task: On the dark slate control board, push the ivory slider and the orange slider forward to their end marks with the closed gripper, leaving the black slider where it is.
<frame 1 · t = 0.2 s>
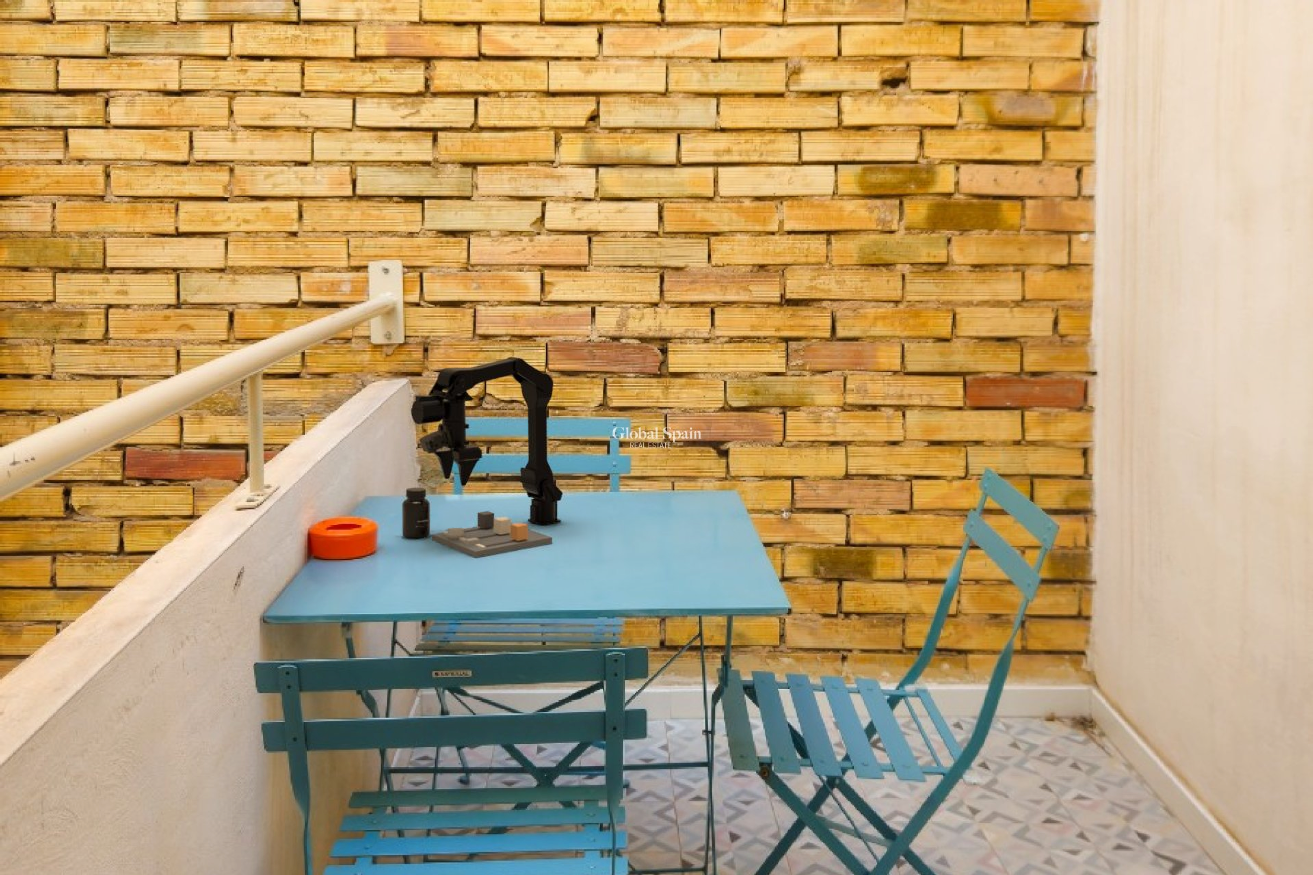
hand: (455, 482, 304), 14 cm above the table, tool pointing down, fingers open, 9 cm apart
black slider: (485, 519, 311), point 4 cm above the table, slide at 0.0 cm
ivory slider: (502, 525, 305), point 4 cm above the table, slide at 0.0 cm
orange slider: (519, 531, 299), point 4 cm above the table, slide at 0.0 cm
supplement bottle: (416, 536, 308), on the table
control board: (492, 541, 304), on the table
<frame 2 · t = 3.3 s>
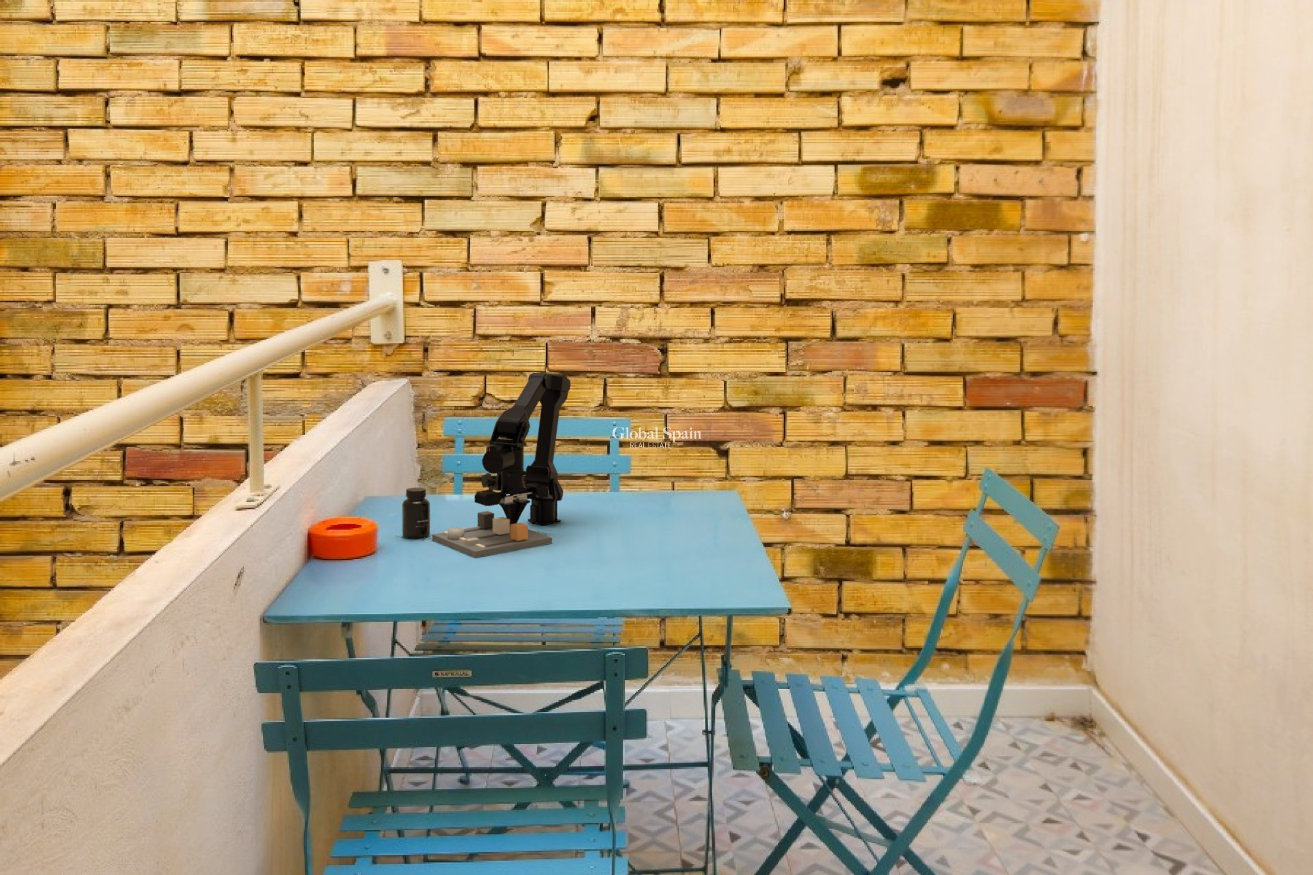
hand: (512, 527, 307), 3 cm above the table, tool pointing down, fingers closed
ivory slider: (501, 525, 305), point 4 cm above the table, slide at 0.3 cm, touching gripper
everything else where it was.
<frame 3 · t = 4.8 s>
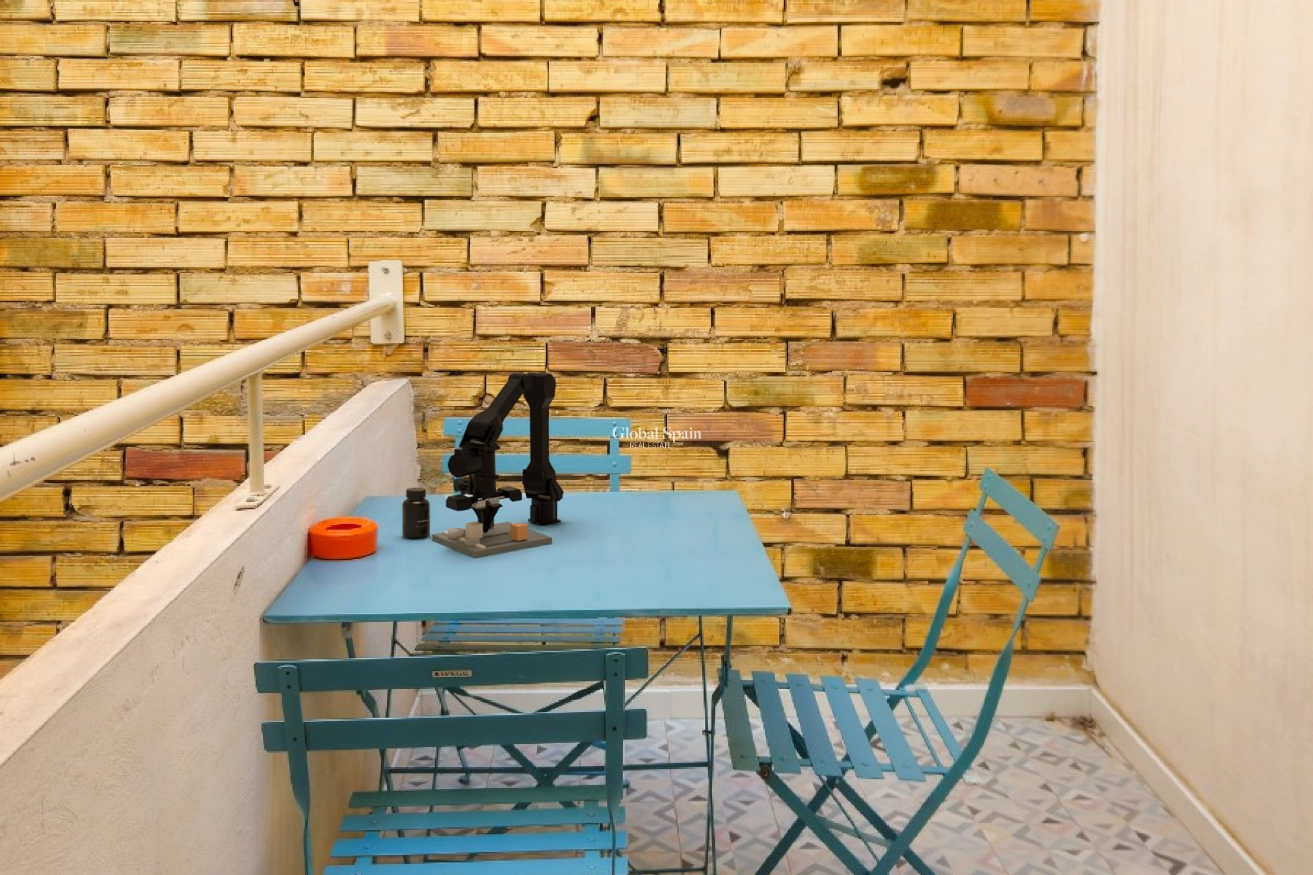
hand: (485, 532, 302), 3 cm above the table, tool pointing down, fingers closed
ivory slider: (474, 530, 300), point 4 cm above the table, slide at 8.1 cm, touching gripper
everything else where it was.
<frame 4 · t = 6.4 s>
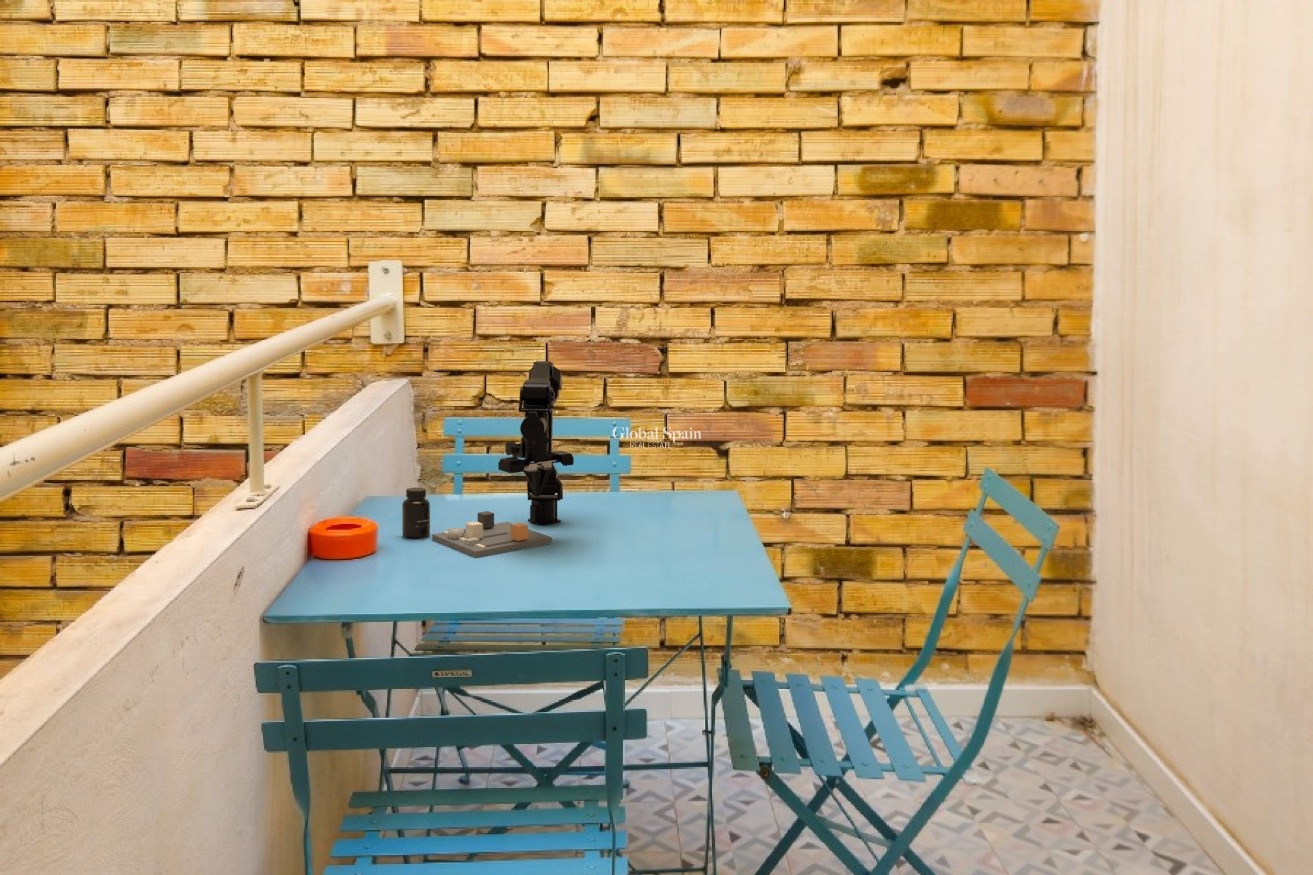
hand: (536, 496, 301), 12 cm above the table, tool pointing down, fingers closed
ivory slider: (474, 530, 300), point 4 cm above the table, slide at 8.0 cm
everything else where it was.
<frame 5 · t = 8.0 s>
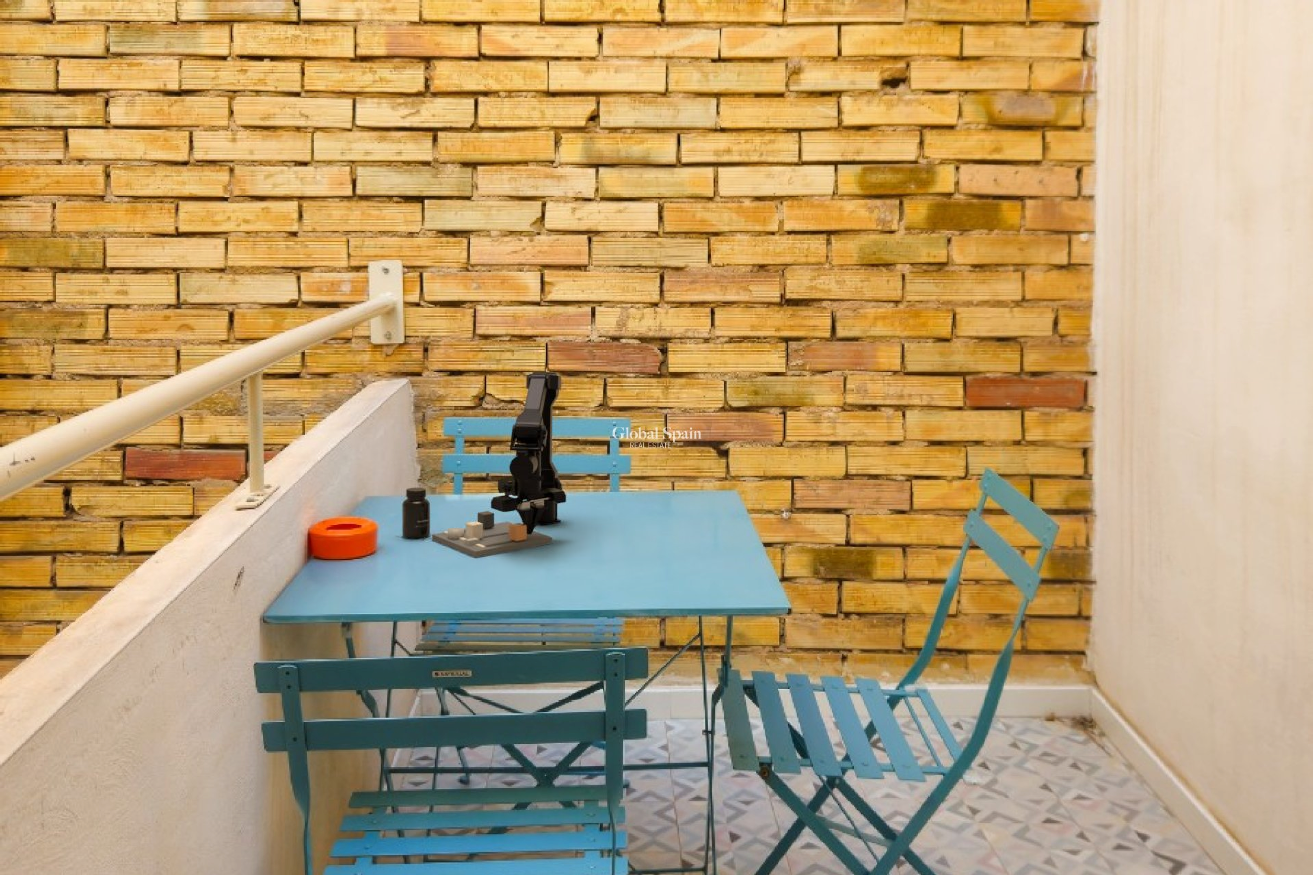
hand: (529, 534, 301), 3 cm above the table, tool pointing down, fingers closed
orange slider: (517, 531, 299), point 4 cm above the table, slide at 0.4 cm, touching gripper
everything else where it was.
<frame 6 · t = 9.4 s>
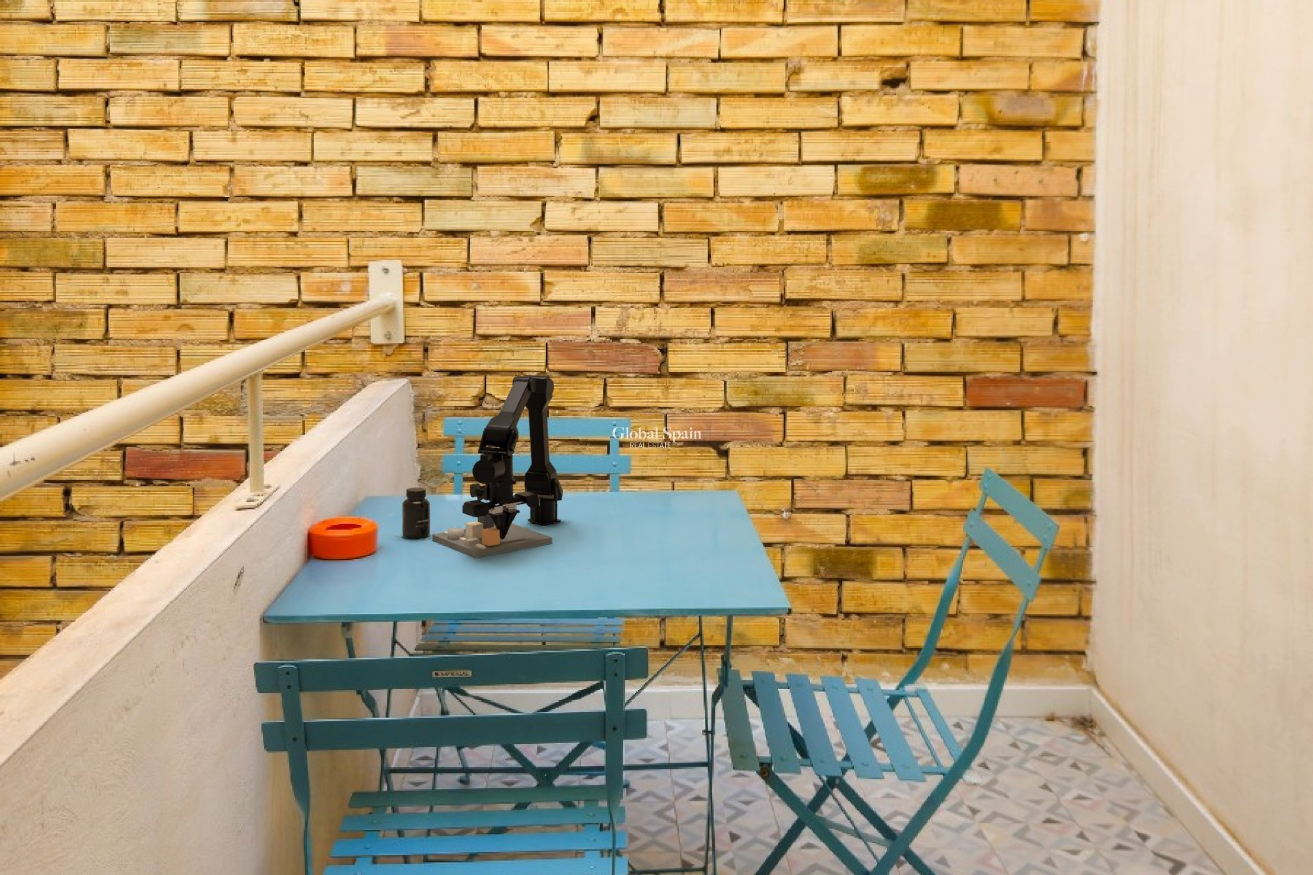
hand: (502, 538, 296), 3 cm above the table, tool pointing down, fingers closed
orange slider: (490, 536, 294), point 4 cm above the table, slide at 8.1 cm, touching gripper
everything else where it was.
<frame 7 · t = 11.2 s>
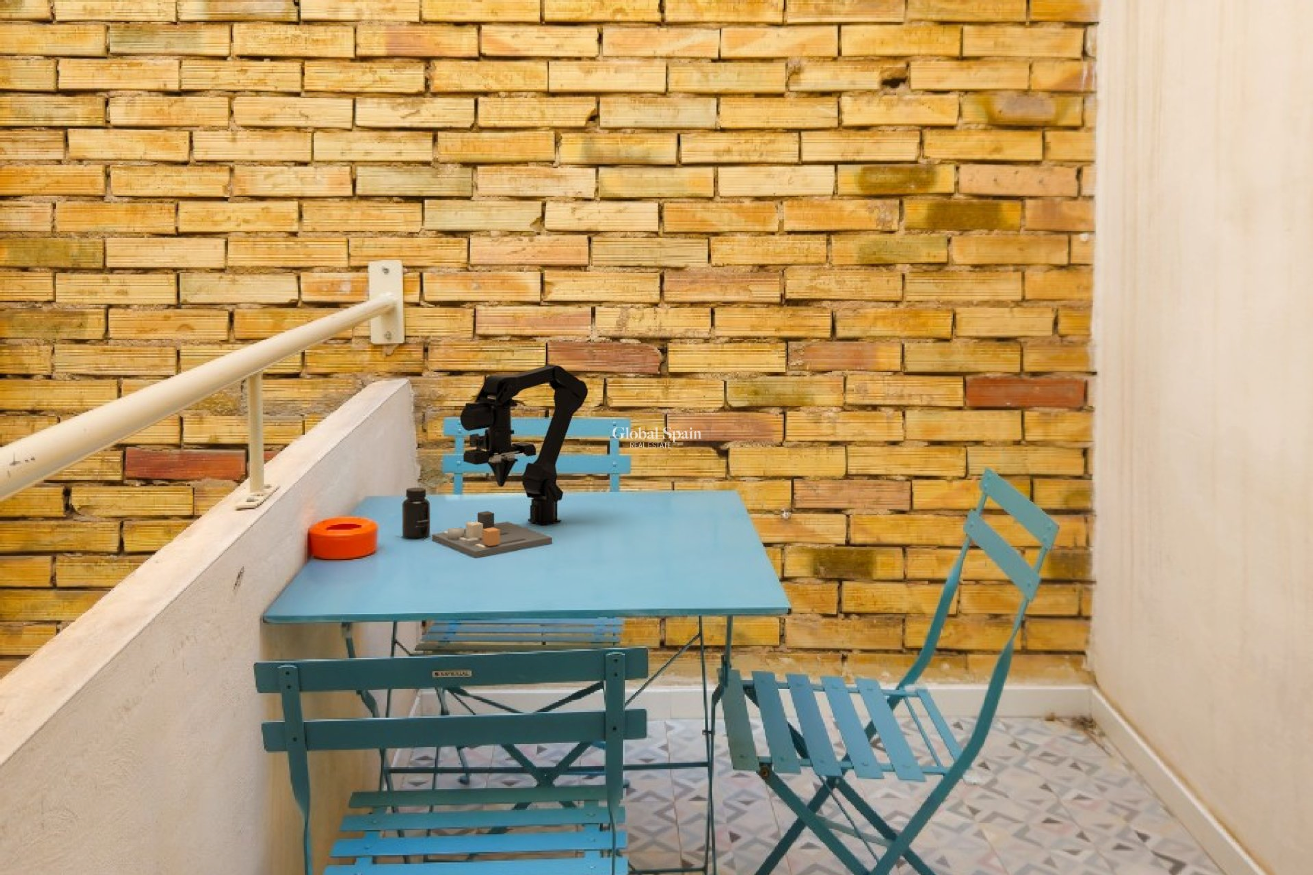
hand: (500, 486, 312), 12 cm above the table, tool pointing down, fingers closed
orange slider: (491, 536, 294), point 4 cm above the table, slide at 8.0 cm
everything else where it was.
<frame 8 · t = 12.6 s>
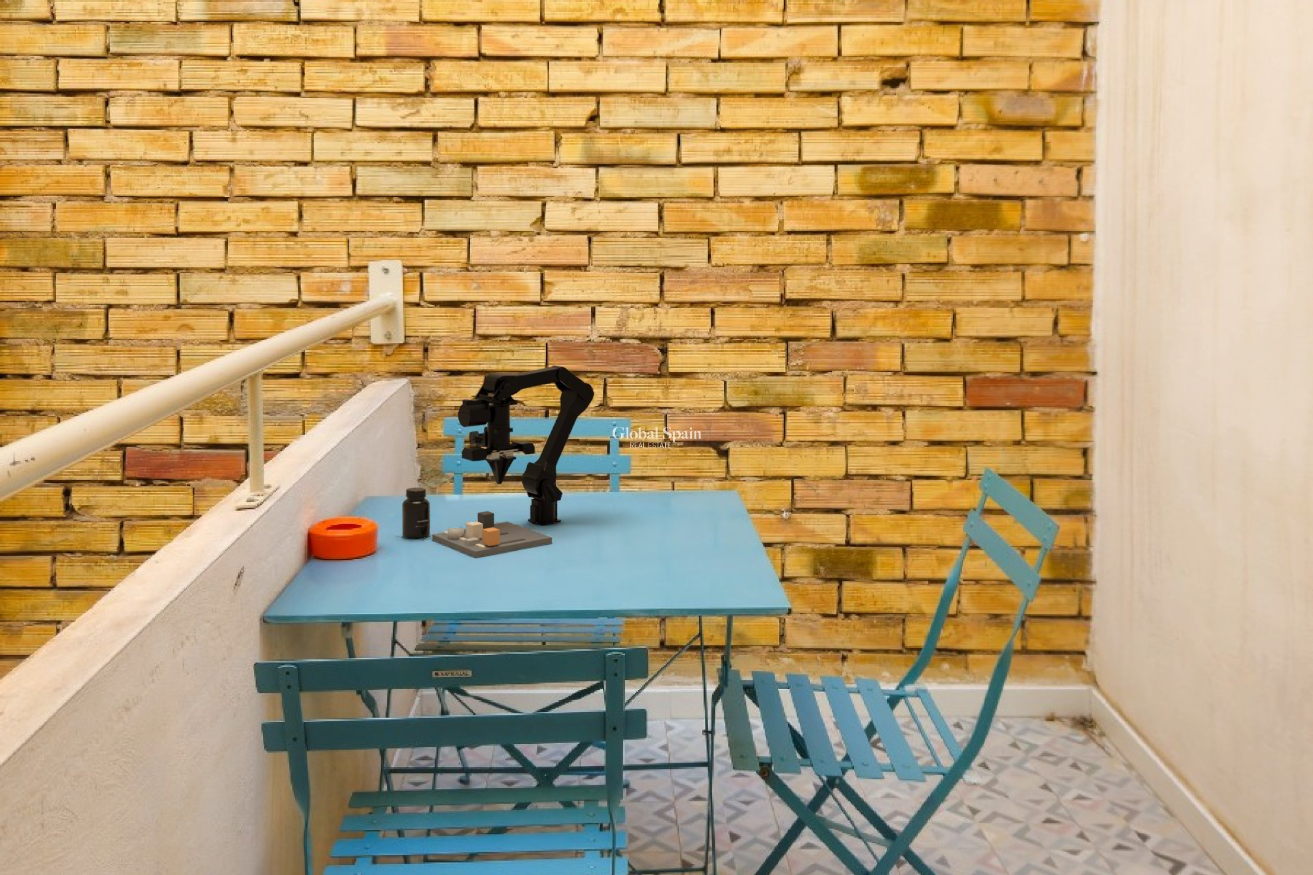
hand: (499, 483, 313), 12 cm above the table, tool pointing down, fingers closed
nothing on the table moved.
at the end: ivory slider slide at 8.0 cm; orange slider slide at 8.0 cm; black slider slide at 0.0 cm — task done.
